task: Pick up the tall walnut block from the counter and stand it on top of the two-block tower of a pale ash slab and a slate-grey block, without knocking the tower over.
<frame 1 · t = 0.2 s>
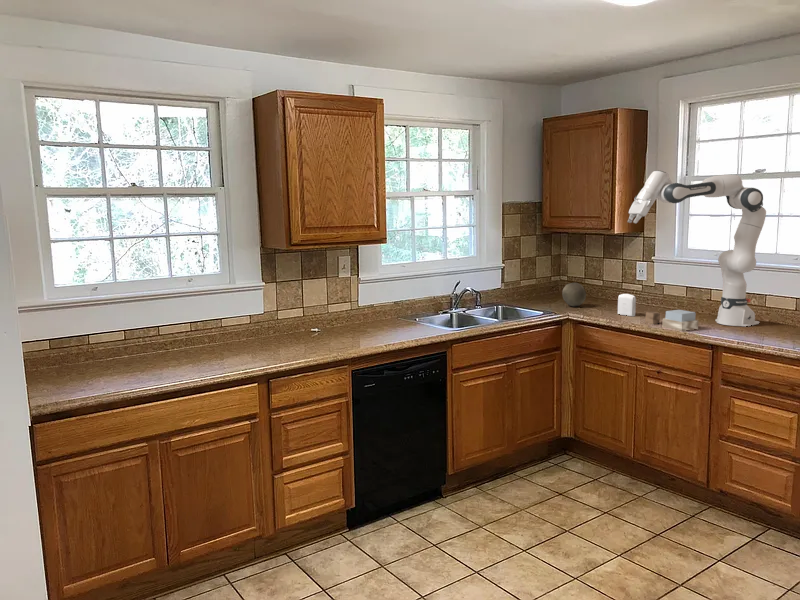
hand: (631, 222, 336), 54 cm above the worktop, tool tilted 30°, fingers open, 8 cm apart
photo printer: (626, 315, 369), on the worktop
ash base slab: (679, 329, 330), on the worktop, touching slate top block
slate top block: (680, 319, 330), point 5 cm above the worktop, touching ash base slab
grey ball: (573, 307, 399), on the worktop
walnut block: (652, 323, 344), on the worktop
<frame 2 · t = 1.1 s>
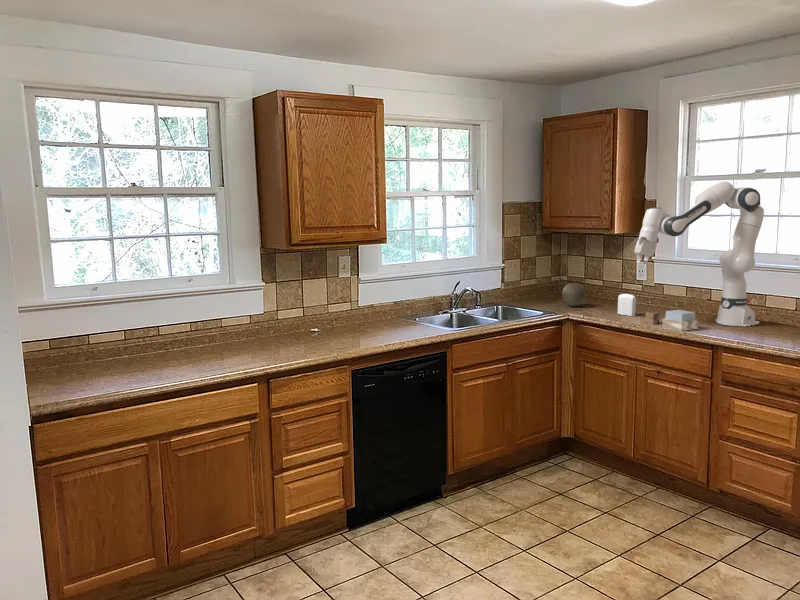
hand: (641, 263, 339), 32 cm above the worktop, tool pointing down, fingers open, 8 cm apart
nothing on the worktop moved.
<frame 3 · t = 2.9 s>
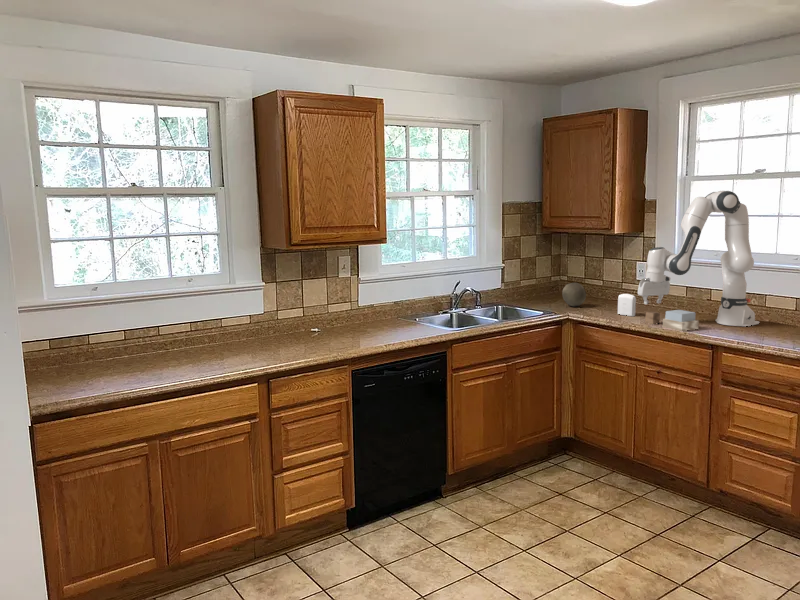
hand: (652, 303, 342), 11 cm above the worktop, tool pointing down, fingers open, 8 cm apart
nothing on the worktop moved.
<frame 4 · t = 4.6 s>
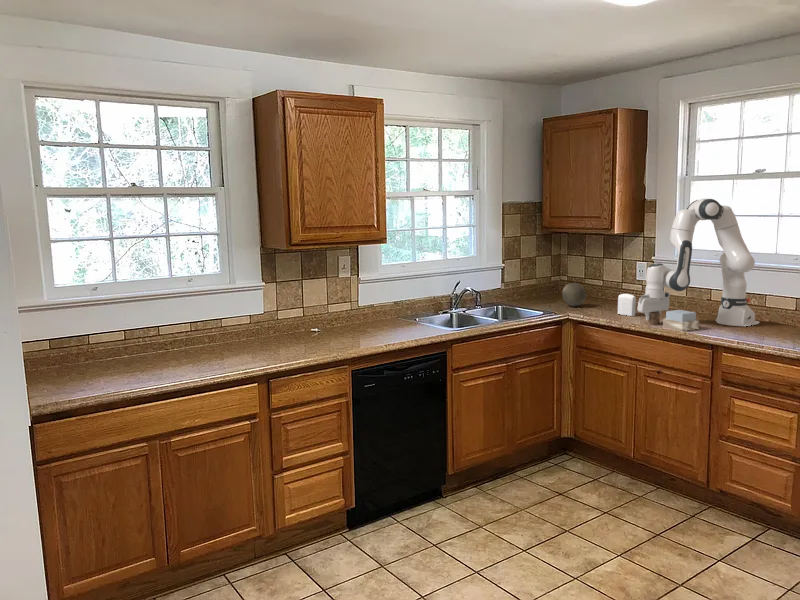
hand: (652, 319, 343), 2 cm above the worktop, tool pointing down, fingers closed on walnut block, 5 cm apart
walnut block: (652, 323, 344), on the worktop, touching gripper
everything else where it was.
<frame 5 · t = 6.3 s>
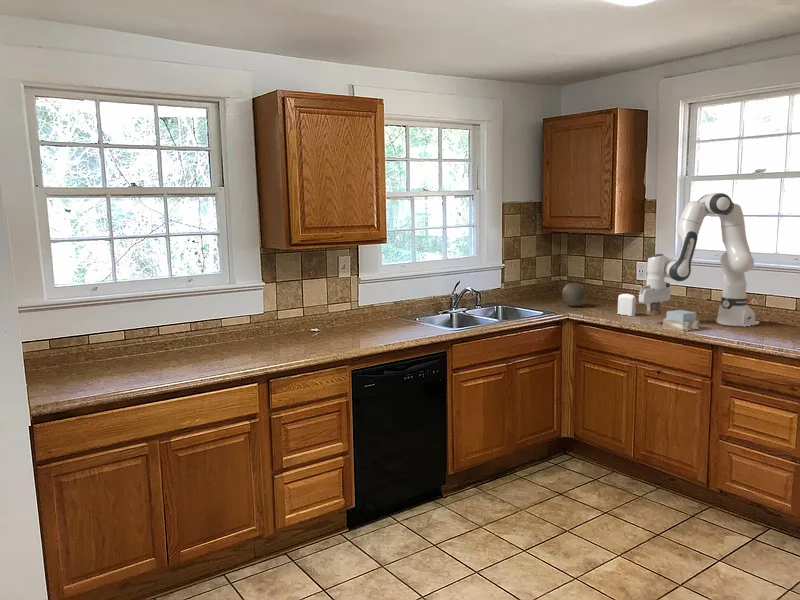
hand: (653, 310, 342), 7 cm above the worktop, tool pointing down, fingers closed on walnut block, 5 cm apart
walnut block: (653, 314, 343), point 5 cm above the worktop, touching gripper
everything else where it was.
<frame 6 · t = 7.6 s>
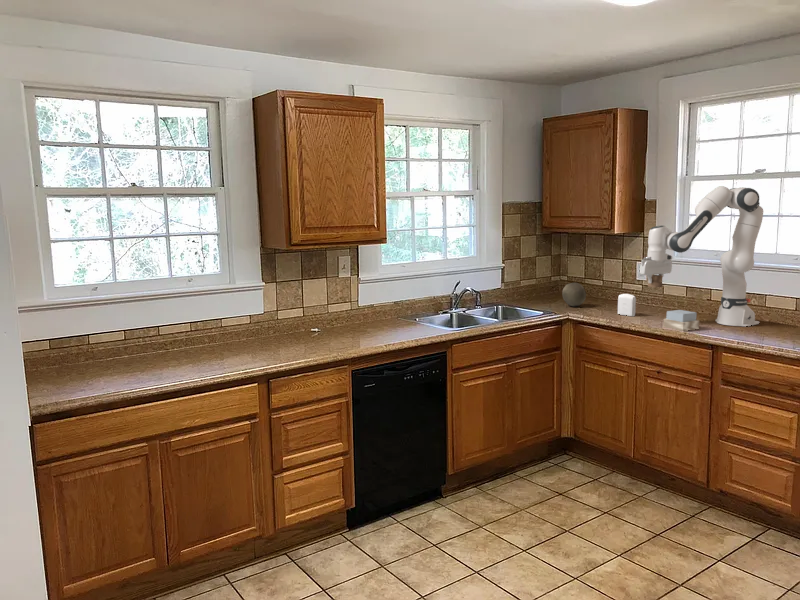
hand: (655, 282, 340), 22 cm above the worktop, tool pointing down, fingers closed on walnut block, 5 cm apart
ash base slab: (680, 329, 330), on the worktop
slate top block: (681, 319, 330), point 5 cm above the worktop
walnut block: (654, 286, 341), point 20 cm above the worktop, touching gripper
everything else where it was.
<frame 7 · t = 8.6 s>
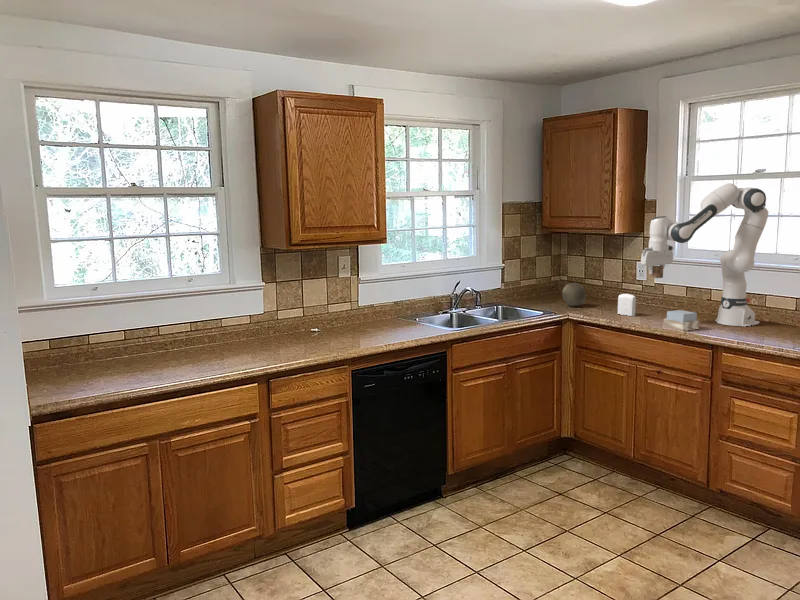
hand: (655, 273, 339), 27 cm above the worktop, tool pointing down, fingers closed on walnut block, 5 cm apart
ash base slab: (680, 329, 330), on the worktop, touching slate top block
slate top block: (681, 319, 329), point 5 cm above the worktop, touching ash base slab
walnut block: (655, 277, 340), point 25 cm above the worktop, touching gripper
everything else where it was.
when the fingers open (12 cm above the worktop, at t = 14.6 s): walnut block drops 1 cm, point 9 cm above the worktop.
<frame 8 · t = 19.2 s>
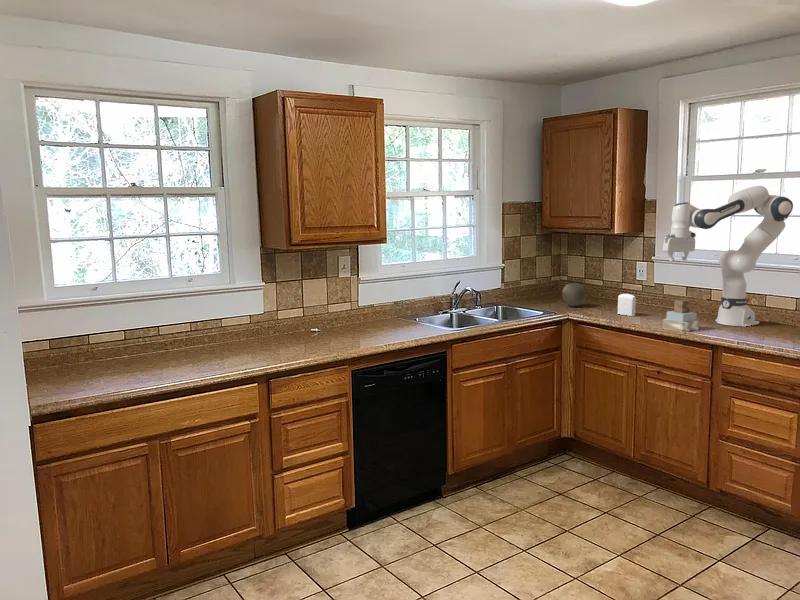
hand: (678, 260, 335), 34 cm above the worktop, tool pointing down, fingers open, 8 cm apart
ash base slab: (680, 329, 329), on the worktop, touching slate top block
walnut block: (681, 312, 328), point 9 cm above the worktop
everything else where it was.
at the end: walnut block 0.1 cm off-centre on the slate top block, point 4.0 cm above the slate top block's base; walnut block tilted 1°; slate top block moved 1.1 cm from its start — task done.
